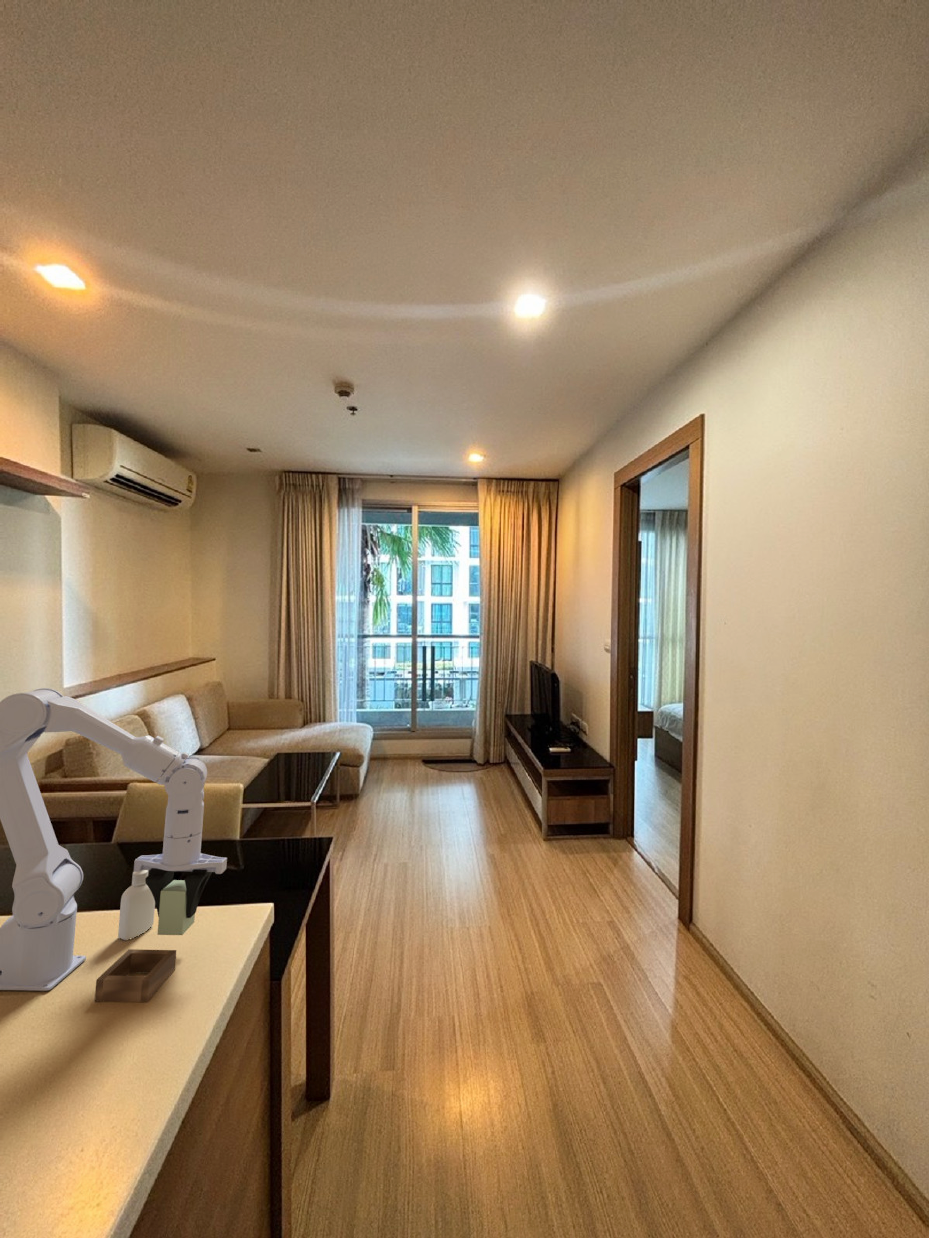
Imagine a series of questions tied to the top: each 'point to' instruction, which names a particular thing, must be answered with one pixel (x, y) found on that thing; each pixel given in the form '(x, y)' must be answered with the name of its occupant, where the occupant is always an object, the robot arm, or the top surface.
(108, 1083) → the top surface
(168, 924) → the pale green block
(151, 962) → the socket block
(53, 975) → the robot arm
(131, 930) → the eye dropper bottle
